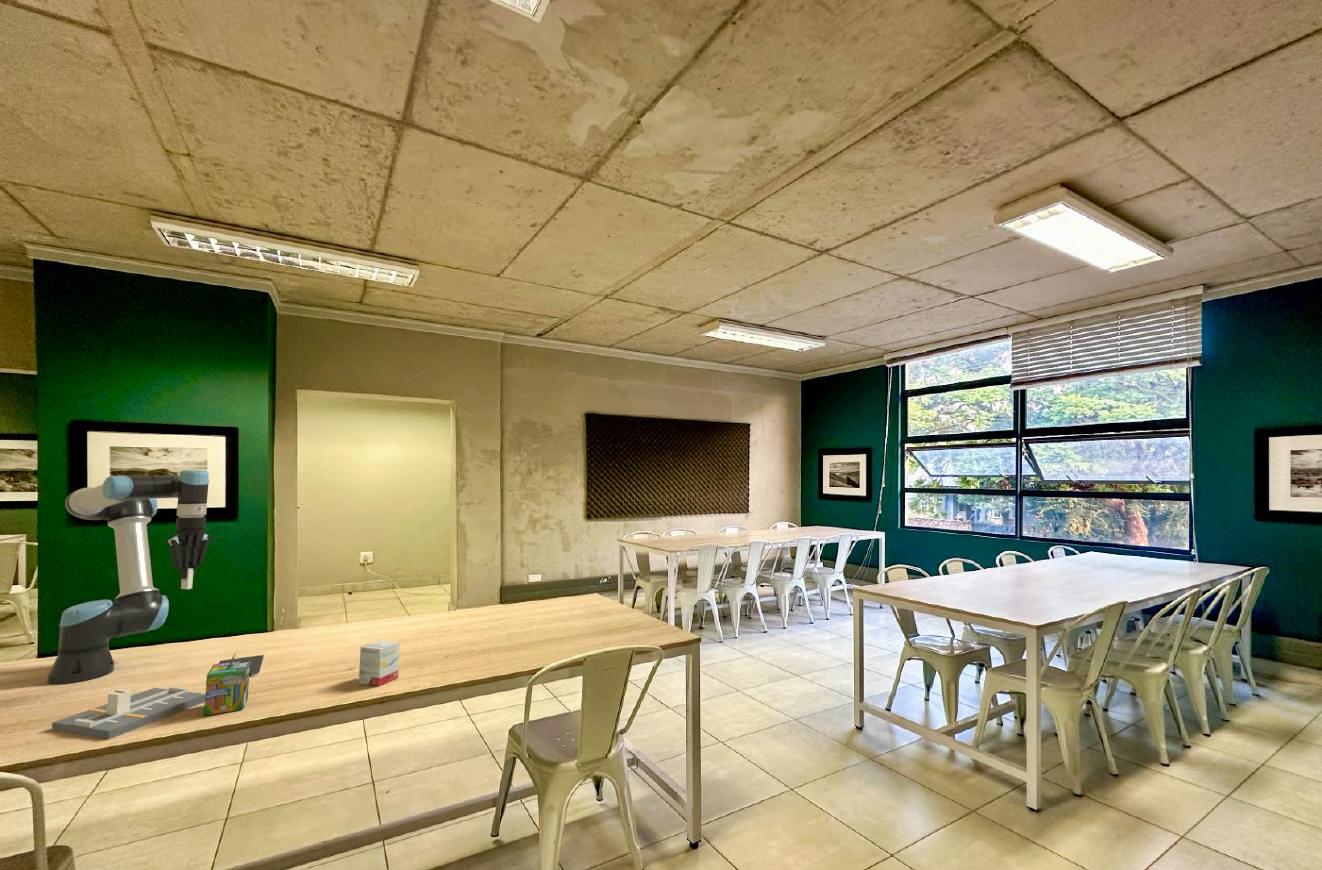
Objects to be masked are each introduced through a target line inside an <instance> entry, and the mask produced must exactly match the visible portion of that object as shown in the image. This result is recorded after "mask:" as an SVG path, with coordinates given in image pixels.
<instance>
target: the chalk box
mask: <svg viewBox="0 0 1322 870" xmlns="http://www.w3.org/2000/svg"><path fill="white" fill-rule="evenodd" d="M236 654H237V653H236V652H235V653H234V655H233V656H232V657H231V659H232V660H231V662H230V663H224V664H219V663H217V664H213V665H211V667H210V670H209V671H208V673H207V675H206V682H205V693H204V694H205V702H204V709H203V710H204V711H203V717H207V716H210V715H211V716H212V715H219V714H226V713H231V712H238V711H239V712H240V711H243V710H244V708H245V707H246V704H247V702H248V699H249V696H248V695H249V686H250V685H249V683H250V677H249V675H250V664H251V661H242V662H233V660H234V659H235V656H236Z"/></svg>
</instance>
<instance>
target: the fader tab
mask: <svg viewBox="0 0 1322 870" xmlns="http://www.w3.org/2000/svg"><path fill="white" fill-rule="evenodd" d="M131 696H132V690H128V689H117V690H115V691H111V692H110V693H107V702H106V704H107V715H116V714H119V713H122V712H125V711H127V710H130V699H131Z"/></svg>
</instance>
